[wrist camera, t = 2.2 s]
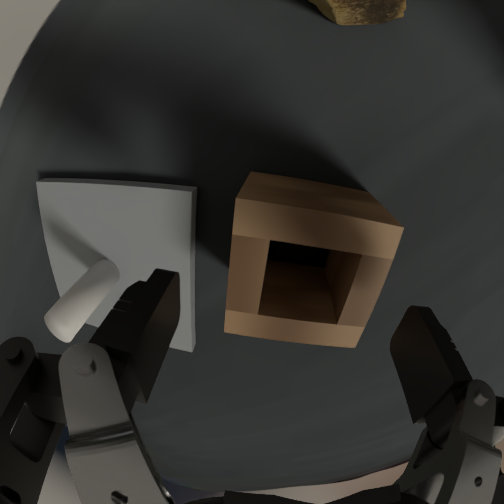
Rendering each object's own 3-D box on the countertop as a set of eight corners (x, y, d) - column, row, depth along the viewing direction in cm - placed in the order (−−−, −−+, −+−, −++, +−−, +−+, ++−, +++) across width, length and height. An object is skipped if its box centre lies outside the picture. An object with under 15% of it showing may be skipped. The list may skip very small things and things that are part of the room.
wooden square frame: (368, 192, 14) (404, 227, 9) (340, 290, 17) (354, 347, 12) (250, 171, 14) (235, 198, 10) (239, 275, 17) (224, 332, 13)
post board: (197, 186, 15) (138, 241, 8) (195, 343, 20) (169, 418, 14) (45, 177, 15) (-27, 214, 9) (72, 309, 21) (30, 362, 15)
